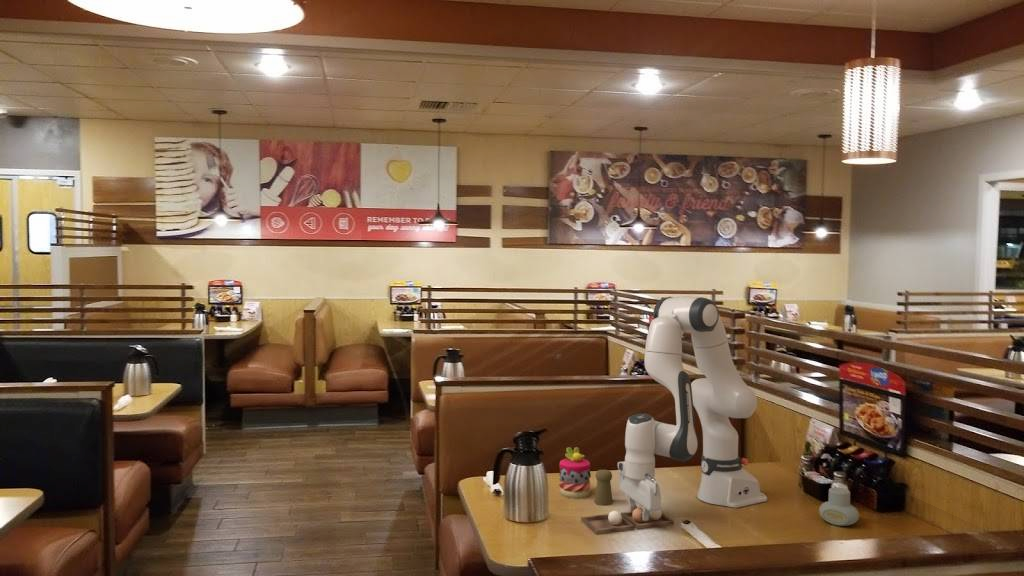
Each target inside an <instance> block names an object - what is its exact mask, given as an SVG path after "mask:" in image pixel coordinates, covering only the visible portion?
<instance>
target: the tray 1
mask: <svg viewBox="0 0 1024 576" xmlns="http://www.w3.org/2000/svg"><path fill="white" fill-rule="evenodd" d="M608 515H609V513H605V514H596V515H588V516H580V522H581V523H582V524H583V525H584V526H586V527H587V528H588V529H589V530H590V531H591V532H592V533H593V534H595V535H598V536H599V535H604V534H605V535H606V534H614V533H621V532H629V531H635V528H634V525H633V524H631V523H630V522H629V521H627V520H626V519H625V518H623V517H622V520H621V522H620V523H619V524H618V525H613V524H611V523H610V522H609V520H608Z"/></svg>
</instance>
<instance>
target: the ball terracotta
mask: <svg viewBox="0 0 1024 576" xmlns="http://www.w3.org/2000/svg"><path fill="white" fill-rule="evenodd" d="M641 513H643V509H642V508H640V507H637V508H636V509H635V510H634V511H633V513H632V516H633V519H634V520H635V521H637V522H642V521H643V520H642V519H641Z"/></svg>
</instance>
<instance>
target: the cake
mask: <svg viewBox="0 0 1024 576" xmlns="http://www.w3.org/2000/svg"><path fill="white" fill-rule="evenodd" d="M565 452H566V453H565V455H564V456H565V458H563V459H561V460H560V461H559V481H560V482H559V484H558V487H559V495H560V494H561V495H562V496H561V495H560V496H561V497H563V496H564V497H563V498H565V497H567V498H566V499H570V498H574V499H573V500H579V499H580V498H582V499H586V498H588V497H589V496H590V488H591V480H590V478H591V476H592V474H591V462H590V461H589V460H588V459H585V455H584V454H581V453H580V448H579V447H574V449H572V447H569V446H568V447H566V451H565ZM585 497H586V498H585Z"/></svg>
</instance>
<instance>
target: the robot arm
mask: <svg viewBox="0 0 1024 576" xmlns="http://www.w3.org/2000/svg"><path fill="white" fill-rule="evenodd" d="M652 313H653V314H652V316H653V317H652V318H653V319H652V321H651V322H650V324H649V328H648V330H647V331H648V332H647V335H646V340H645V342H646V343H645V348H644V359H643V360H644V369H645V371H646V372H647V374H648V375H649V376H650V378H651V379H653V380H654V381H655V382H657V383H659V384H660V385H662V386H664V387H665V388H666V389H668V391H669V392H670V393H671V394H672V396H673V398H674V403H675V418H676V419H675V420H676V421H675V423H676V425H675V424H669V423H665V422H661V421H657V420H655V419H654V417H653V416H652V415H650V414H648V413H635V414H632V415H631V416H629V417H628V419H627V421H626V427H625V435H624V436H625V437H624V447H625V452H626V453H625V456H624V461H618V462H617V469H618V477H617V479H618V488H619V491H620V492H621V493H622V494H624V495H625V496H627V501H628V505H629V512H633V511H634V510H635V509H636V508H638V506H637V504H639V505H640V506H641V507H642V508H641V509H643V513H641V519H642V520H643V521H648V519H649V513H650V511H657V510H661V507H662V497H661V496H662V495H661V489H660V488H661V487H660V486H659V483H658V482H657V481H656V478H655V474H656V472H655V470H656V469H655V468H656V458H655V455H658V456H662V457H668V458H670V459H673V460H675V461H679V462H681V463H682V462H687V461H688V460H690V459H691V458H693V456H695V454H696V453H697V451H698V447H699V440H698V435H697V431H696V425H695V413H694V409H695V411H696V413H697V416H698V418H699V421H700V424H701V429H702V454H701V463H700V465H701V466H700V467H701V479H700V483H699V489H698V491H697V495H696V497H697V499H699V500H700V501H703V502H704V503H707V504H710V505H711V504H712V505H715V506H726V507H729V508H734V509H735V508H742V507H746V506H750V505H751V506H752V505H754V504H759V503H763V502H768V497H767V496H766V495H765V493H763V492H761V491H760V490H761V489H760V483H759V481H758V479H757V478H755V476H753V475H752V474H751V473H749V472H748V471H747V470H746V469H745V468H744V467H743V465H744V466H748V465H749V463H750V461H749V459H747V458H745V457H740V456H739V434H738V431H737V430H736V429H735V427H734V426H733V425H732V423H731V421H730V419H729V418H732V419H748V418H750V417H752V415H753V414H754V413H755V412H756V409H757V407H758V406H757V405H758V397H757V394H756V393H755V391H754V390H753V389H751V388H750V387H749V386H748V385H747V383H745V381H744V380H743V378H742V377H741V375H740V374H739V371H738V370H737V368H736V365H735V363H734V361H733V357H732V354H731V349H730V346H729V345H730V344H729V340H728V335H727V331H726V328H725V325H724V322H723V320H722V317H721V315H720V313H719V310H718V307H717V305H716V303H715V302H714V301H713V300H712V299H710V298H707V297H697V296H691V295H690V296H688V295H685V296H675V297H673V296H666V297H663V298H661V299H659V300H658V301H657V302H656V304H655V306H654V309H653V312H652ZM685 332H690V336H691V343H692V349H693V352H694V357H695V362H696V366H697V369H698V370H699V371H700V372H701V373H702V374H703V375H704V376H705V377H701V378H696V379H694V380H693V381H692V382H691V377H690V375H689V374H688V373H687V372H686V371H685V369H684V366H683V362H682V361H683V359H682V353H683V350H682V349H683V341H682V340H683V335H684V333H685Z"/></svg>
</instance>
